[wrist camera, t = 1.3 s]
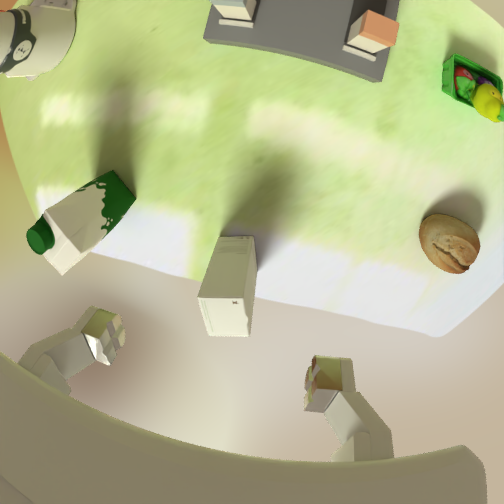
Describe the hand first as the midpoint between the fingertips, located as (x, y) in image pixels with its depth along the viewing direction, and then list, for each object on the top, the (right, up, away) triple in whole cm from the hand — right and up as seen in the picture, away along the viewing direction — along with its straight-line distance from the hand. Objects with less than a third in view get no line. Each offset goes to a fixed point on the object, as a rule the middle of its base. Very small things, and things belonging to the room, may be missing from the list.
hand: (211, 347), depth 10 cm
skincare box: (-1, +3, +39) cm, 39 cm away
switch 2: (+16, +31, +14) cm, 37 cm away
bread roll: (+38, +7, +32) cm, 50 cm away
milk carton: (-24, +14, +35) cm, 45 cm away
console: (+9, +38, +16) cm, 42 cm away
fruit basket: (+36, +30, +18) cm, 50 cm away
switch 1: (0, +35, +14) cm, 37 cm away
